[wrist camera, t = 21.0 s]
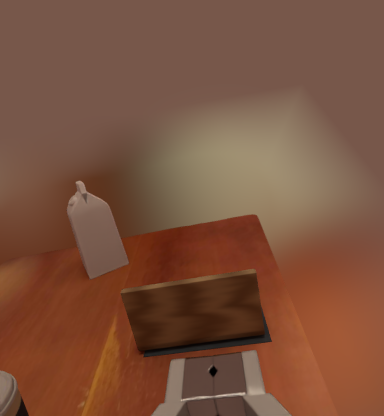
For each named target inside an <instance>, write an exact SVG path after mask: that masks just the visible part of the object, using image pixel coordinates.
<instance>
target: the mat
mask: <svg viewBox="0 0 384 416" xmlns="http://www.w3.org/2000/svg"><path fill="white" fill-rule="evenodd" d="M261 310H262V307H261ZM262 317H263V324H264V331H265V334H263V335H256V336H248V337H241V338H233V339H226V340H218V341H211V342H203V343H196V344H188V345H181V346H173V347H166V348H158V349H151V350H145V353H144V357H149V356H157V355H166V354H174V353H182V352H190V351H198V350H207V349H215V348H223V347H231V346H240V345H248V344H256V343H264V342H272V341H271V338H270V334H269V331H268V327H267V324H266V321H265V317H264V314H263V311H262Z"/></svg>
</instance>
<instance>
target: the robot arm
mask: <svg viewBox="0 0 384 416" xmlns="http://www.w3.org/2000/svg"><path fill="white" fill-rule="evenodd" d="M151 416H292V415H291V414H290V413H289V412H288V411H287V410H286V409H285V408H284V407H283V406H282V405H281V404H280V403H279V402H278V401H277V400H276V399H275V398H274V396H273V395H272V394H271V393H267V394H266V392H265V388H264V383H263V379H262V374H261V369H260V365H259V360H258V355H257V352H256V350H252V351H244V352H242V354H241V352H236V353H228V354H220V355H213V356H203V357H191V358H183V359H172V360H171V362H170V367H169V374H168V381H167V388H166V394H165V401H164V404H160V405H159V406H158V407H157V409H156V410H155V411H154V412H153V414H152V415H151Z"/></svg>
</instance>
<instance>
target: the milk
mask: <svg viewBox="0 0 384 416" xmlns="http://www.w3.org/2000/svg"><path fill="white" fill-rule="evenodd" d="M76 187H77V193H76V194H75V196H72V197H71V199H70V201H69V204H68V205H69V206H68V208H67V213H68V217H69V220H70V223H71V226H72V230H73V233H74V236H75V239H76V243H77V246H78V249H79V252H80V256H81V259H82V262H83V265H84V267H85V269H86V271H87V274H88V276H89V278H90V280H91V279H93V278H95V277H98V276H100V275H103V274H105V273H107V272H110V271H112V270H115V269H117V268H120V267H122V266H124V265H127V264H129V261H128V259H127V256H126V253H125V250H124V247H123V244H122V241H121V238H120V236H119V233H118V230H117V228H116V224H115V221H114V218H113V215H112V212H111V210H110V207H109V206H108V204H107V203H106V202H104V201H103V200H102V199H100V198H98V197H96V196H94V195H92V194H90V193H88V192H86V189H85V186H84V183H83V182H81V181H78V182H76Z"/></svg>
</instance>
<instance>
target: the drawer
mask: <svg viewBox="0 0 384 416" xmlns="http://www.w3.org/2000/svg"><path fill="white" fill-rule="evenodd" d="M121 296H122V299H123V303H124V306H125V309H126V312H127V315H128V319H129V322H130V325H131V328H132V331H133V334H134V338H135V341H136V344H137V347H138V350H139V351H143V350H151V349H158V348H166V347H173V346H181V345H188V344H196V343H203V342H211V341H218V340H226V339H233V338H241V337H248V336H256V335H263V334H265V331H264V324H263V317H262V310H261V303H260V296H259V289H258V282H257V275H256V271H255V269H251V270H244V271H238V272H231V273H225V274H218V275H212V276H205V277H199V278H192V279H186V280H179V281H173V282H166V283H159V284H153V285H146V286H140V287H133V288H127V289H122V291H121Z"/></svg>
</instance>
